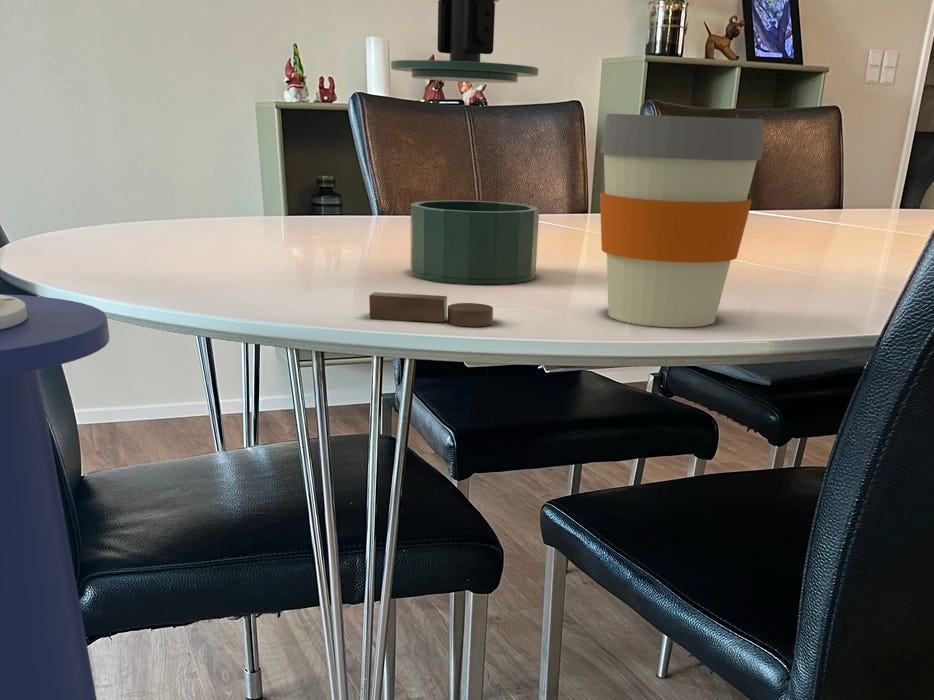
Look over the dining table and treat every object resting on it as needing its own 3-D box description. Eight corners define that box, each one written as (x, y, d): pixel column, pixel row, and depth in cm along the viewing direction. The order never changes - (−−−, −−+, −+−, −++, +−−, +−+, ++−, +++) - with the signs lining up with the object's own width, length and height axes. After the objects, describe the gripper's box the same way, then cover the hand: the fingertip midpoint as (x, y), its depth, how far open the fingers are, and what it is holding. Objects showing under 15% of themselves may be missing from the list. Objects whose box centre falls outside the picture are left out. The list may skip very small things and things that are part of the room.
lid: (520, 79, 85) (525, -22, 82) (370, 73, 88) (369, -24, 84) (550, 85, 97) (555, -3, 93) (416, 80, 99) (417, -5, 96)
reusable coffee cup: (598, 329, 78) (617, 113, 71) (577, 302, 89) (592, 113, 82) (755, 333, 79) (789, 120, 72) (715, 305, 90) (741, 118, 83)
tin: (519, 288, 95) (523, 214, 92) (394, 279, 98) (394, 207, 95) (545, 271, 106) (549, 204, 103) (432, 263, 108) (432, 198, 105)
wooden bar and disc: (366, 320, 78) (366, 297, 77) (376, 312, 81) (376, 289, 81) (489, 327, 77) (490, 304, 76) (495, 319, 80) (495, 296, 80)
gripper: (376, -197, 85) (378, 51, 94) (507, -234, 75) (496, 49, 84) (442, -178, 90) (438, 57, 99) (574, -211, 80) (557, 55, 88)
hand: (465, 51), depth 91 cm, fingers closed on lid, 2 cm apart
